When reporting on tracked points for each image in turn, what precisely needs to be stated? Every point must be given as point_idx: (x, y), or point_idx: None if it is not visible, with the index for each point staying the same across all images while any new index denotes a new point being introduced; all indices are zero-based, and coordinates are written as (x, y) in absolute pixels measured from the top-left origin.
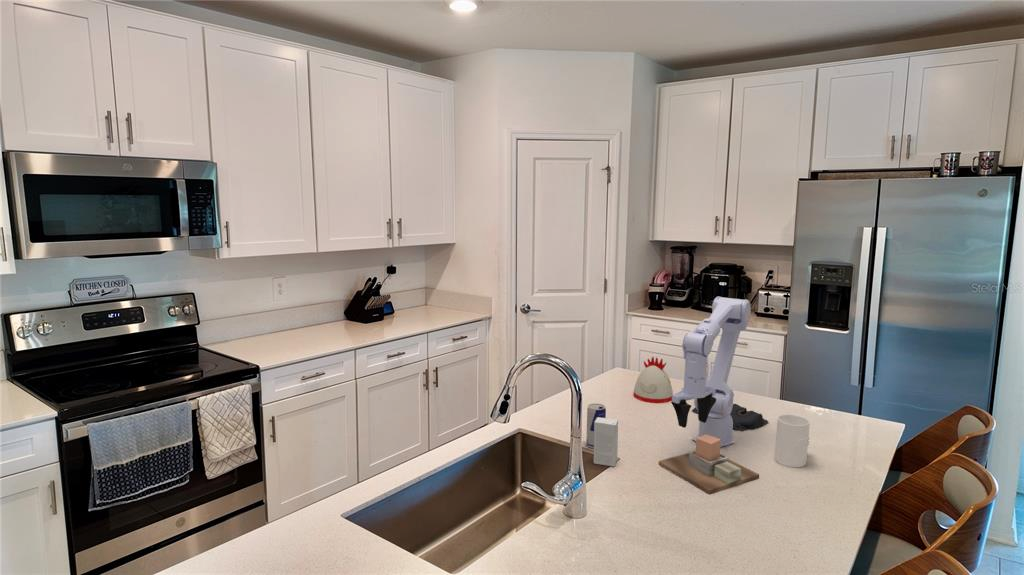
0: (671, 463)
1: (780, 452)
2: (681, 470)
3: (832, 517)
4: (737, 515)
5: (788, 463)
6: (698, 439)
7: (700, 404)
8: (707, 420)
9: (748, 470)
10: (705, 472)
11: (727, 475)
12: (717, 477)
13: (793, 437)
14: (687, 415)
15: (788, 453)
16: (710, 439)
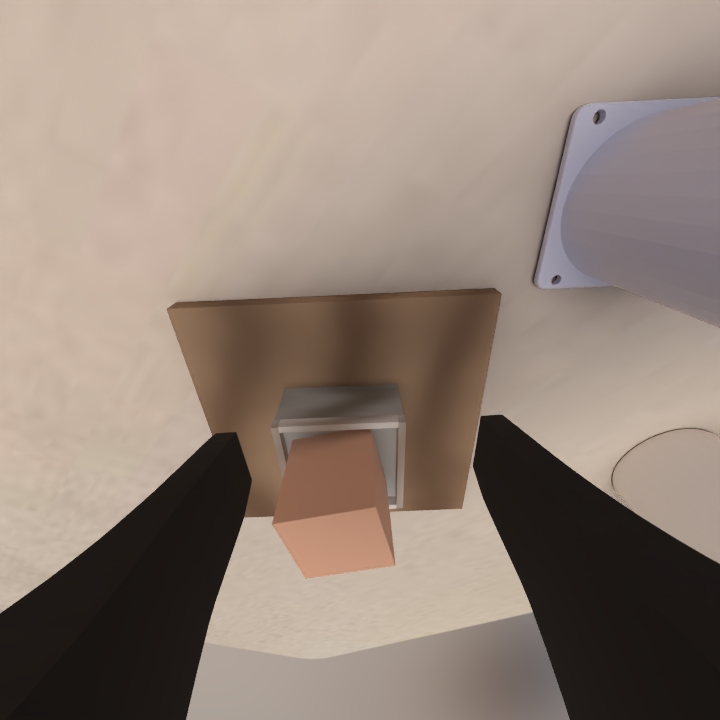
0: (218, 351)
1: (648, 502)
2: (227, 410)
3: (431, 613)
4: (252, 570)
5: (619, 494)
6: (278, 530)
7: (600, 614)
8: (700, 270)
9: (457, 485)
10: None
11: None
12: None
13: None
14: (199, 633)
15: None
16: (341, 551)
